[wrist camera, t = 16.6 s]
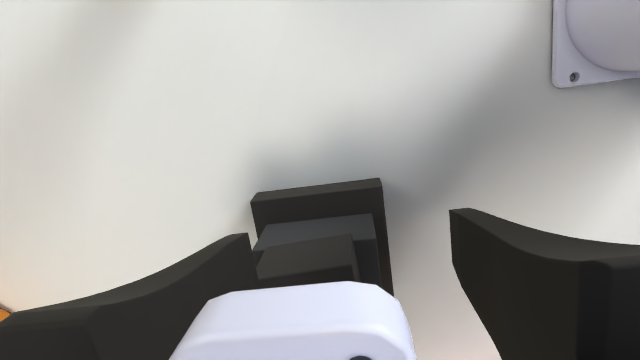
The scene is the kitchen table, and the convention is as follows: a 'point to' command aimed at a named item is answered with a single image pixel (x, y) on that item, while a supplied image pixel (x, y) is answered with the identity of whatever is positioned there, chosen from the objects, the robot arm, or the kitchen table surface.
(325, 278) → the dark grey rectangular block
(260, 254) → the black rectangular block
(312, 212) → the base pad
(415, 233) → the kitchen table surface
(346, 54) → the kitchen table surface
